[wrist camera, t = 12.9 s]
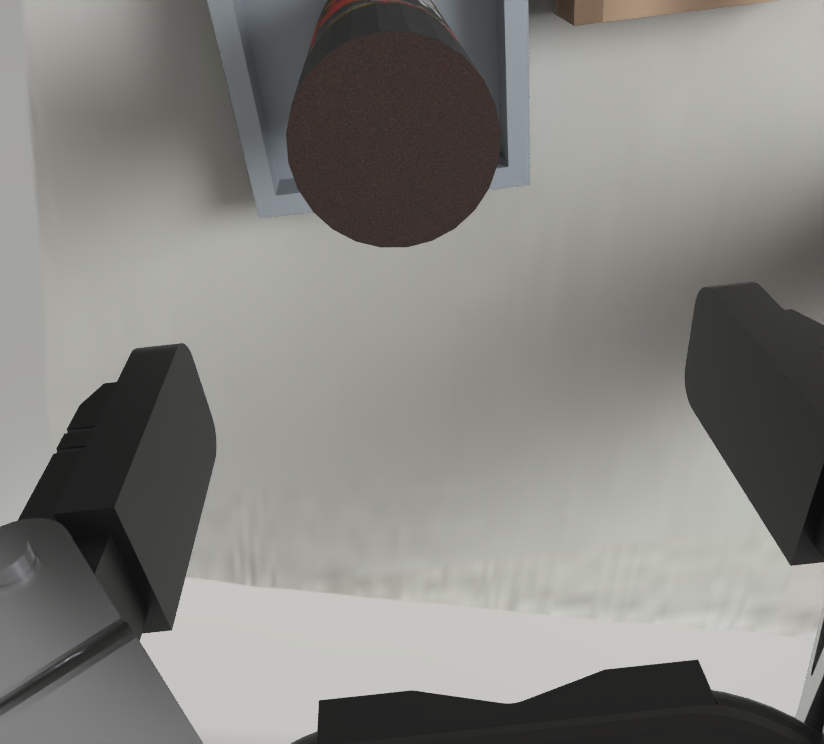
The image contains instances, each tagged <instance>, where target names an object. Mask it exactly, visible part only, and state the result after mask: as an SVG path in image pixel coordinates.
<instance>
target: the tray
mask: <svg viewBox="0 0 824 744" xmlns="http://www.w3.org/2000/svg"><path fill="white" fill-rule="evenodd" d="M327 1H328V0H207V3H208V7H209V11H210V15H211V19H212V23H213V28H214V32H215V36H216V40H217V44H218V49H219V53H220V57H221V61H222V65H223V69H224V74H225V78H226V82H227V86H228V90H229V95H230V99H231V103H232V107H233V111H234V115H235V120H236V124H237V128H238V132H239V136H240V141H241V145H242V149H243V153H244V157H245V161H246V166H247V170H248V174H249V178H250V182H251V187H252V191H253V195H254V199H255V203H256V207H257V212H258V216H259V218H266V217H275V216H283V215H291V214H299V213H307V212H313V211H312V209H311V208H310V207H309V205H308V204H307V202H306V201H305V199H304V198H303V196H302V195H301V193H300V192H299V190H298V189H297V186H296V183H295V180H294V177H293V175H292V172H291V169H290V166H289V163H288V154H287V141H286V131H287V125H288V120H289V115H290V109H291V105H292V101H293V98H294V95H295V92H296V89H297V85H298V82H299V79H300V76H301V73H302V69H303V66H304V63H305V60H306V57H307V53H308V50H309V47H310V44H311V41H312V37H313V34H314V31H315V28H316V25H317V21H318V19H319V17H320V14H321V12H322V10H323V8H324V6H325V4H326V2H327ZM431 1H432V2H433V3H434V5H435V6H436V8H437V9H438V11H439V12H440V14H441V15H442V17H443V18H444V20H445V21H446V23H447V24H448V26H449V27H450V29H451V30H452V32H453V33H454V35H455V36H456V38H457V39H458V41H459V42H460V44H461V45H462V47H463V49H464V50H465V52H466V53H467V55H468V56H469V58H470V59H471V61H472V62H473V64H474V65H475V67H476V68H477V70H478V71H479V73H480V74H481V76H482V77H483V79H484V81H485V83H486V85H487V87H488V89H489V92H490V94H491V96H492V98H493V100H494V102H495V105H496V108H497V114H498V120H499V125H500V131H501V140H500V152H499V162H498V165H497V168H496V171H495V174H494V176H493V179H492V182H491V185H490V188H489V189H488V190H493V189H501V188H509V187H518V186H526V185H530V141H529V19H528V0H431Z"/></svg>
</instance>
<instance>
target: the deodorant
mask: <svg viewBox="0 0 824 744" xmlns="http://www.w3.org/2000/svg"><path fill="white" fill-rule="evenodd" d="M500 140H501V131H500V125H499V120H498V114H497V108H496V105H495V102H494V100H493V98H492V96H491V94H490V92H489V89H488V87H487V85H486V83H485V81H484V79H483V77H482V76H481V74H480V73H479V71H478V70H477V68H476V67H475V65H474V64H473V62H472V61H471V59H470V58H469V56H468V55H467V53H466V52H465V50H464V49H463V47H462V45H461V44H460V42H459V41H458V39H457V38H456V36H455V35H454V33H453V32H452V30H451V29H450V27H449V26H448V24H447V23H446V21H445V20H444V18H443V17H442V15H441V14H440V12H439V11H438V9H437V8H436V6H435V5H434V3H433V2H432V1H431V0H328V1H327V2H326V4H325V6H324V8H323V10H322V12H321V14H320V17H319V19H318V21H317V25H316V28H315V31H314V34H313V37H312V41H311V44H310V47H309V50H308V53H307V57H306V60H305V63H304V66H303V69H302V73H301V76H300V79H299V82H298V85H297V89H296V92H295V95H294V98H293V101H292V105H291V109H290V115H289V120H288V125H287V131H286V141H287V154H288V163H289V166H290V169H291V172H292V175H293V177H294V180H295V183H296V186H297V189H298V190H299V192H300V193H301V195H302V196H303V198H304V199H305V201H306V202H307V204H308V205H309V207H310V208H311V209H312V211H313V212H314V213H315V214H316V215H317V216H319V217H320V218H321V219H322V220H323V221H324V222H325V223H326V224H327V225H329V226H330V227H331V228H332V229H333V230H335V231H337V232H339V233H341V234H343V235H345V236H347V237H349V238H351V239H352V240H354V241H357V242H361V243H365V244H369V245H373V246H378V247H409V246H413V245H417V244H421V243H425V242H429V241H432V240H434V239H436V238H438V237H440V236H442V235H443V234H445V233H447V232H449V231H451V230H453V229H454V228H456V227H457V226H458V225H459V224H460V223H461V222H462V221H463V220H465V219H466V218H467V217H468V216H469V215H470V214H471V213H472V212H473V211H474V210H475V209H476V207H477V206H478V204H479V203H480V201H481V200H482V198H483V197H484V195H485V194H486V192H487V191H488V189H489V188H490V185H491V182H492V179H493V176H494V174H495V171H496V168H497V165H498V162H499V152H500Z"/></svg>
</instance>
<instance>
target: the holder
mask: <svg viewBox="0 0 824 744" xmlns="http://www.w3.org/2000/svg"><path fill="white" fill-rule="evenodd" d="M769 1H777V0H555V14H556V15H558V16H559V17H561V18H563V19H564V20H566V21H567V22H569V23H570V24H572V25H574V26H576V25H584V24H592V23H600V22H608V21H616V20H624V19H632V18H640V17H648V16H656V15H664V14H673V13H681V12H689V11H697V10H705V9H713V8H721V7H729V6H737V5H745V4H753V3H761V2H769Z"/></svg>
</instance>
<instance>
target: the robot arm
mask: <svg viewBox="0 0 824 744" xmlns="http://www.w3.org/2000/svg"><path fill="white" fill-rule="evenodd" d="M685 388H686V393H687V397H688V400H689V403H690V405H691V407H692V409H693V411H694V413H695V414H696V416H697V417H698V419H699V420H700V422H701V424H702V425H703V427H704V428H705V430H706V432H707V433H708V435H709V436H710V438H711V440H712V441H713V443H714V444H715V446H716V448H717V449H718V451H719V452H720V454H721V456H722V457H723V459H724V460H725V462H726V463H727V465H728V467H729V468H730V470H731V471H732V473H733V475H734V476H735V478H736V479H737V481H738V483H739V484H740V486H741V487H742V489H743V491H744V492H745V494H746V495H747V497H748V498H749V500H750V502H751V503H752V505H753V506H754V508H755V510H756V511H757V513H758V514H759V516H760V518H761V519H762V521H763V522H764V524H765V526H766V527H767V529H768V530H769V532H770V533H771V535H772V537H773V538H774V540H775V541H776V543H777V545H778V546H779V548H780V549H781V551H782V553H783V554H784V556H785V557H786V559H787V561H788V562H789V564H790V565H791V566H792V565H801V564H810V563H819V562H824V325H822V324H820V323H818V322H816V321H814V320H812V319H810V318H808V317H806V316H804V315H802V314H800V313H798V312H796V311H794V310H792V309H790V310H783V309H782V308H781V307H780V306H779V305H778V304H777V303H776V302H775V301H774V300H773V299H772V298H771V297H770V296H769V295H768V293H767V292H766V291H765V290H764V289H763V288H762V287H761V286H760V285H758V284H757V283H755V282H746V283H737V284H728V285H719V286H710V287H704V288H702V289H701V290H700V291H699V293H698V295H697V298H696V303H695V309H694V315H693V321H692V328H691V334H690V341H689V347H688V354H687V360H686V366H685ZM67 431H68V433H67V434H64V436H63V437H62V439H61V441H60V443H59V445H58V447H57V453H56V454H53V456H52V458H51V460H50V462H49V463H48V465H47V467H46V469H45V471H44V473H43V475H42V476H41V479H40V480H39V482H38V484H37V486H36V488H35V489H34V491H33V493H32V495H31V497H30V499H29V501H28V502H27V504H26V506H25V508H24V510H23V512H22V514H21V515H20V517H19V519H18V521H15V522H12V523H9V524H6V525H3V526H1V527H0V744H203V742H202V741H201V739H200V738H199V736H198V734H197V733H196V731H195V730H194V728H193V726H192V725H191V723H190V722H189V720H188V718H187V717H186V715H185V714H184V712H183V710H182V709H181V707H180V706H179V704H178V702H177V701H176V700H175V697H174V696H173V694H172V693H171V691H170V690H169V688H168V686H167V685H166V683H165V681H164V680H163V678H162V677H161V675H160V673H159V672H158V670H157V669H156V667H155V665H154V664H153V662H152V661H151V659H150V658H149V656H148V654H147V653H146V651H145V649H144V648H143V646H142V645H141V643H140V638H141V634H142V633H150V632H159V631H169V630H172V627H173V624H174V620H175V616H176V612H177V608H178V604H179V600H180V596H181V592H182V588H183V584H184V580H185V576H186V572H187V568H188V565H189V561H190V557H191V553H192V549H193V545H194V541H195V537H196V533H197V529H198V525H199V521H200V517H201V513H202V509H203V505H204V501H205V497H206V494H207V490H208V486H209V482H210V478H211V474H212V470H213V466H214V462H215V457H216V433H215V427H214V422H213V419H212V415H211V412H210V409H209V406H208V403H207V400H206V397H205V394H204V391H203V388H202V385H201V382H200V378H199V375H198V372H197V369H196V366H195V363H194V360H193V357H192V354H191V352H190V350H189V348H188V347H187V346H186V345H185V344H183V343H181V344H172V345H162V346H153V347H144V348H136V349H134V350H133V351H132V353H131V354H130V356H129V358H128V361H127V363H126V365H125V367H124V369H123V371H122V373H121V375H120V377H119V379H118V381H117V382H114V383H105V384H103V385H102V386H101V387H100V388H99V389H97V390H96V391H95V392H94V393H93V394H92V395H91V396H90V397H89V398H87V399H86V400H85V401H84V402H83V403H82V404H81V405H80V406H79V408H78V410H77V411H76V413H75V415H74V417H73V419H72V421H71V423H70V424H69V426H68V428H67ZM291 744H824V605H823V609H822V614H821V618H820V622H819V626H818V630H817V634H816V638H815V642H814V647H813V651H812V655H811V659H810V663H809V667H808V671H807V676H806V680H805V684H804V688H803V692H802V696H801V699H800V703H799V707H798V710H797V713H796V716H795V718H794V717H792V716H790V715H787V714H785V713H783V712H781V711H779V710H777V709H775V708H773V707H770V706H767V705H765V704H762V703H759V702H756V701H754V700H751V699H748V698H744V697H740V696H737V695H733V694H729V693H725V692H719V691H713V690H711V689H710V687H709V684H708V682H707V679H706V677H705V675H704V673H703V670H702V668H701V666H700V664H699V661H698V660H691V661H682V662H673V663H663V664H654V665H645V666H636V667H626V668H617V669H608V670H603V671H600V672H598V673H595V674H592V675H590V676H587V677H585V678H582V679H580V680H577V681H575V682H572V683H569V684H566V685H564V686H561V687H558V688H556V689H553V690H551V691H548V692H545V693H543V694H540V695H538V696H535V697H532V698H530V699H527V700H524V701H522V702H518V703H512V704H504V703H496V702H489V701H482V700H475V699H468V698H461V697H453V696H447V695H439V694H433V693H425V692H419V691H404V692H394V693H385V694H376V695H366V696H357V697H348V698H338V699H329V700H320V701H319V714H318V731H317V732H315V733H313V734H310V735H307V736H305V737H303V738H301V739H299V740H297V741H295V742H293V743H291Z"/></svg>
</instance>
